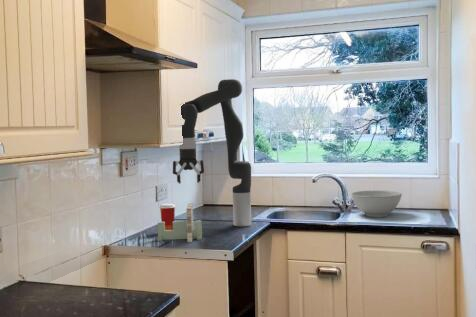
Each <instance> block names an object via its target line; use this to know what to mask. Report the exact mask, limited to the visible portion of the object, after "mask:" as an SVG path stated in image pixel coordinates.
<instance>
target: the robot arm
mask: <svg viewBox="0 0 476 317" xmlns="http://www.w3.org/2000/svg"><path fill="white" fill-rule="evenodd" d="M242 92H243V84H242V82H241V81H240V80H238V79H235V78H233V79H232V78H230V79H221V80H220V81H219V82H218V84H217V90H214V91H211V92H208V93H204V94H202V95H200V96H197V97H196V98H194V99H192V100H188V101H186V102H184V103H185V104H183V103H182V104H183V105H182V106H181V115H182V118H183V119H184V120H183V121H184V123H183V124H182V125H181V126H182V136H183V144H182V145H180V146H179V145H178V148H179V160H173V161H172V175H176V182H177V183H178V184H181V183H182V181H181V173H182V171H183V170H184V171H192V170H194V172H195V173H196V178H197V179H196V181H197V183H198V184H199V183H200V182H201V175H202V174H204V173H205V167H204V160H203V159H201V160H197V144H196V143H197V141H196V132H195V131H196V129H195V128H196V124H197V121H198V120H197V119H198V114H200V113H203V112H205V111H207V110H209V109H210V108H211V109H212V108H213V107H214V106H217V105H219V104H220V106H221V111H222V117H223V126H224V134H225V142H226V149H227V150H226V151H227V165H228V166H227V167H228V175H229V177H230V178H231V179H234V180H236V179H237V180H240V183H238V184H237V185H235V186H232V212H233V214H232V215H233V217H232V218H233V219H232V220H233V226H235V227H250V226H251V225H252V198H251V197H252V196H251V195H252V194H251V189H252V188H251V187H252V166H251V163H250V161H246V160H241V161H240V160H238V150H239V147H240V146H241V143H242V141H243V138H244V127H243V122H242V119H241V117H240V116H239V115H238V113H237V111H236V110H235V108H234V104H233V101H232V99H234V98H235V99H236V98H238V97H239V96H241V94H242ZM178 164H179V166H180V168H179V170H178V171H177V166H178ZM197 164H198V165H199V166H200V170H199V169H198V168H197V167H196V166H197Z"/></svg>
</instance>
